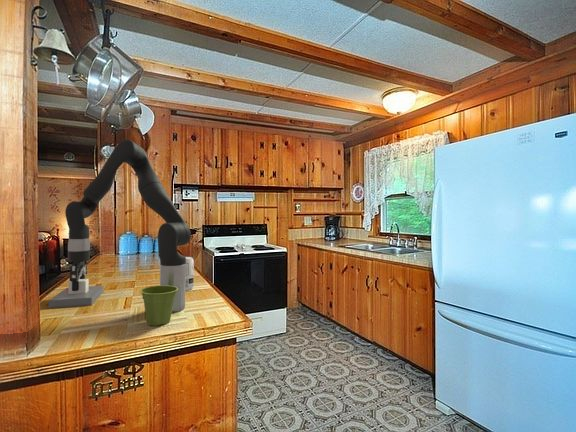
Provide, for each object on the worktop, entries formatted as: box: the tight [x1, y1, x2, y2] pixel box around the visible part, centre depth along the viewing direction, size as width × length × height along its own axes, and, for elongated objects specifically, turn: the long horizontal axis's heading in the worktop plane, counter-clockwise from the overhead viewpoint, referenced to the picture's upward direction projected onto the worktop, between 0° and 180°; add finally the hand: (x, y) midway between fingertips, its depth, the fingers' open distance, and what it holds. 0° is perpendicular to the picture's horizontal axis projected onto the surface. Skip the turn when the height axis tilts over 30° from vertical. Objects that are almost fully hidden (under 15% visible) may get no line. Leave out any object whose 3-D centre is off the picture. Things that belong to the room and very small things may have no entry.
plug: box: [67, 278, 90, 294], centre depth 126 cm, size 4×6×7 cm
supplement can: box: [185, 256, 195, 291], centre depth 147 cm, size 8×8×15 cm
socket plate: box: [48, 285, 104, 309], centre depth 126 cm, size 20×14×4 cm
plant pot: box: [139, 285, 178, 327], centre depth 102 cm, size 12×12×11 cm
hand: (78, 288), depth 126 cm, fingers open, 8 cm apart
